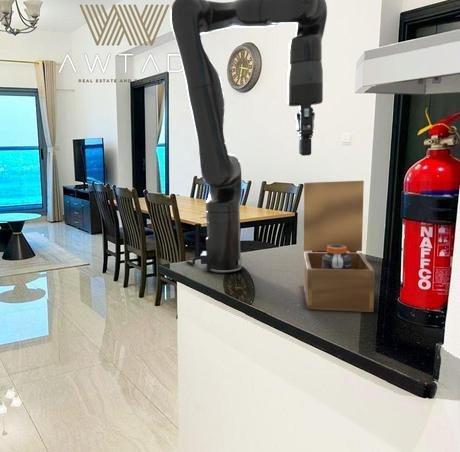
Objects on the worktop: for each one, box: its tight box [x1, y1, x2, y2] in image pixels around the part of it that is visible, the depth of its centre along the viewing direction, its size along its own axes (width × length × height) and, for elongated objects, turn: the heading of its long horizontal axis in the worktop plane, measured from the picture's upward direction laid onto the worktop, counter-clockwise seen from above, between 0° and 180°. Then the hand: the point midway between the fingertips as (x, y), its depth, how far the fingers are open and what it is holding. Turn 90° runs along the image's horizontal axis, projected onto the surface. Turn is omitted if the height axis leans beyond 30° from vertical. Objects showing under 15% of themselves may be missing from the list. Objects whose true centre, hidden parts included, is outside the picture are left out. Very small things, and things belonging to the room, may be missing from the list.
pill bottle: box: [322, 245, 351, 269], centre depth 102 cm, size 6×6×11 cm
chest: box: [303, 251, 376, 313], centre depth 102 cm, size 16×13×9 cm
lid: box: [303, 180, 365, 252], centre depth 110 cm, size 16×13×6 cm
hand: (304, 154), depth 108 cm, fingers open, 8 cm apart
